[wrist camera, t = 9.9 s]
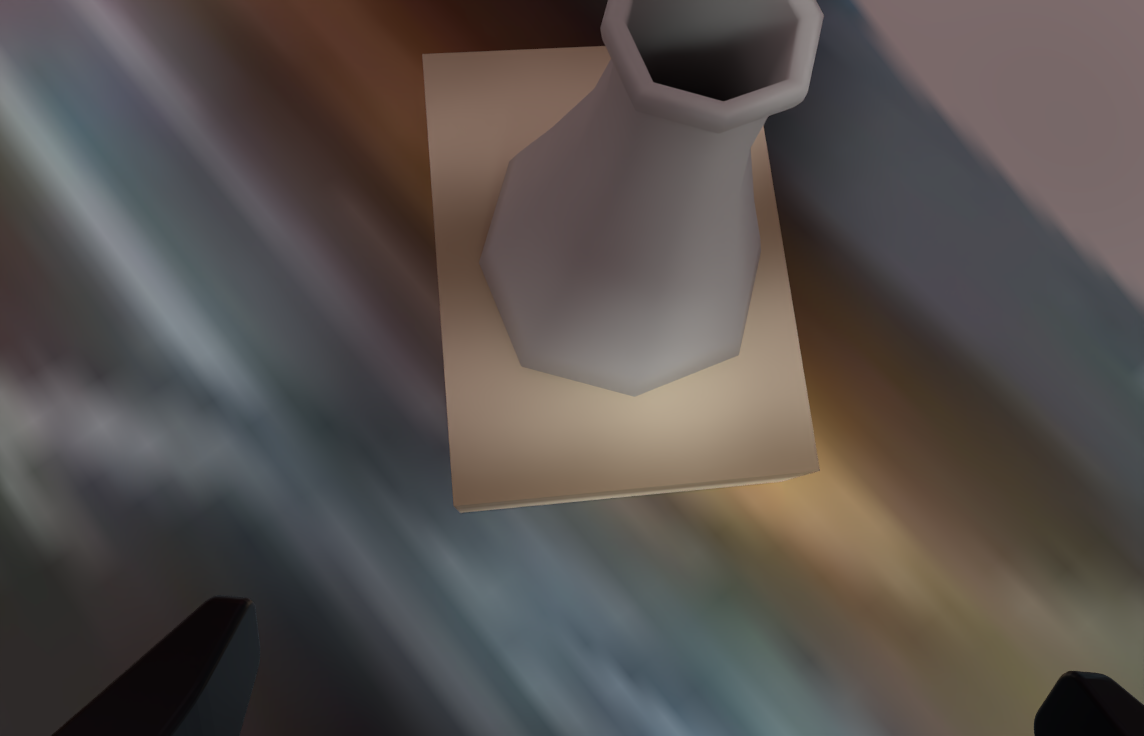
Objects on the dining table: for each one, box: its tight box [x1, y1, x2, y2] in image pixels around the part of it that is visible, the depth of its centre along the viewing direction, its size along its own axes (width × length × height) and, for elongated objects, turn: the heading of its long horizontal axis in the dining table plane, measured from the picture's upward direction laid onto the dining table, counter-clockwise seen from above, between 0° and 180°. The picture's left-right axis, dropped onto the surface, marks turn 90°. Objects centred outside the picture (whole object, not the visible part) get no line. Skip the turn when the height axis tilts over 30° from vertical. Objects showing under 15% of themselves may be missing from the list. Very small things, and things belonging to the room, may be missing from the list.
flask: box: [479, 0, 824, 397], centre depth 17 cm, size 7×7×10 cm
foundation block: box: [422, 46, 820, 513], centre depth 23 cm, size 12×9×3 cm
